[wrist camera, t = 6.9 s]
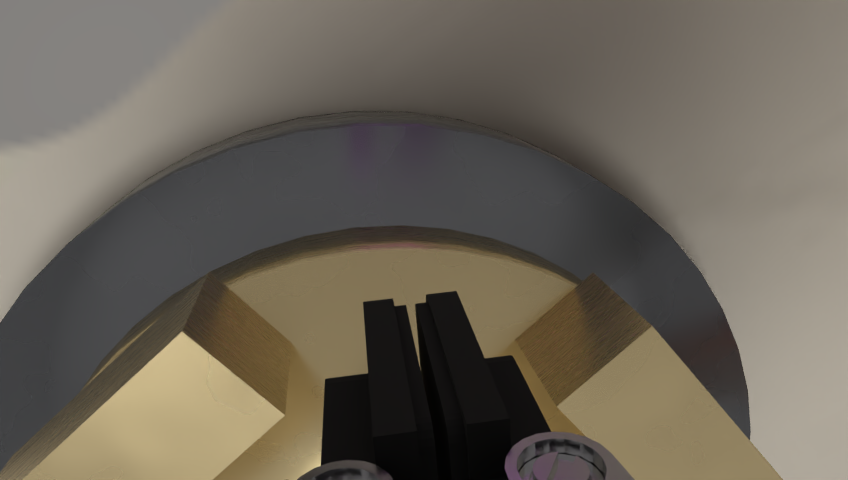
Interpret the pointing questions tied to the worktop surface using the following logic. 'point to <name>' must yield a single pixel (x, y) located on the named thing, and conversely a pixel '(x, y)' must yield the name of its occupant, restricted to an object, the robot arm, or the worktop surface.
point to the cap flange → (335, 210)
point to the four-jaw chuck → (346, 355)
